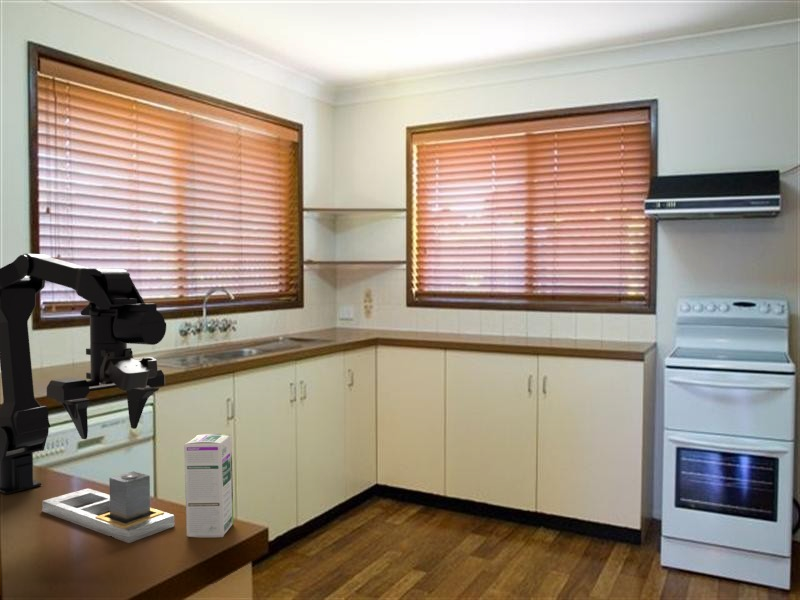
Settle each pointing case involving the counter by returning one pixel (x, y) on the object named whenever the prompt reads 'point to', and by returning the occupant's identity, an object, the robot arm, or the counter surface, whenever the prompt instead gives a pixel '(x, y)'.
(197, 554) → the counter surface
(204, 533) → the syrup box
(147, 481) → the gray knob block
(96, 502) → the socket frame
